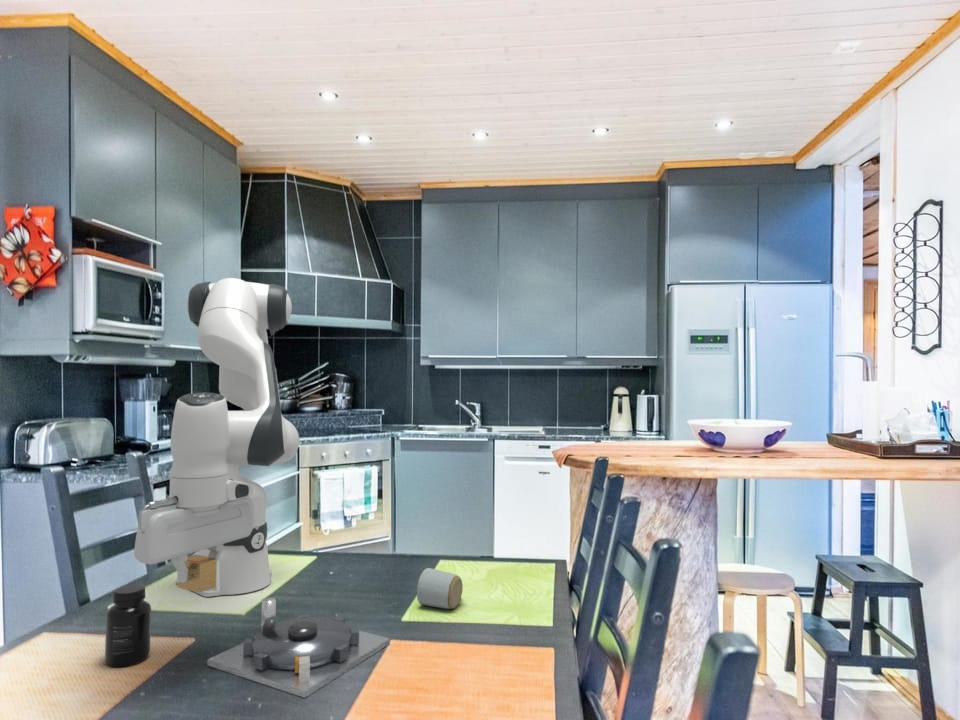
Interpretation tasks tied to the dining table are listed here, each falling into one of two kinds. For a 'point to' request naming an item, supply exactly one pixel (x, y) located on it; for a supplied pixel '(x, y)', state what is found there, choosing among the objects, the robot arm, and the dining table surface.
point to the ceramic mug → (439, 589)
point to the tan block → (200, 573)
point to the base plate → (289, 675)
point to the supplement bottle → (128, 627)
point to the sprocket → (298, 640)
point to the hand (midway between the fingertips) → (197, 576)
